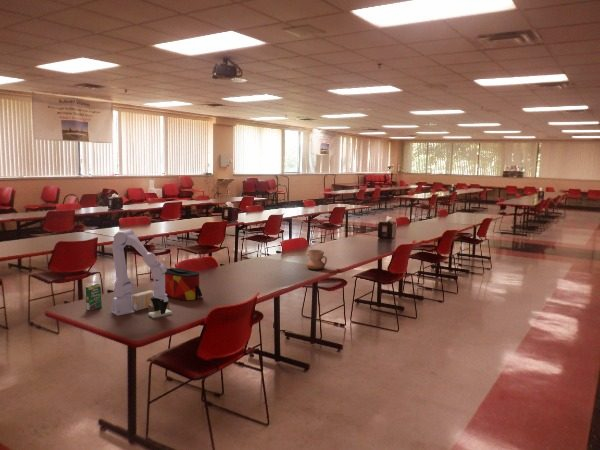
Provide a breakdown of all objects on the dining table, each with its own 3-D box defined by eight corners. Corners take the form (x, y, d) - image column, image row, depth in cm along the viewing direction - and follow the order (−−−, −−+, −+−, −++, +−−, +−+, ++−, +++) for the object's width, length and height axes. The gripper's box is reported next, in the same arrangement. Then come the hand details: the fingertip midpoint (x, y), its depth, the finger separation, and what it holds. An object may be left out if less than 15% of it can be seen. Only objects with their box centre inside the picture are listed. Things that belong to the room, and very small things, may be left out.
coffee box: (89, 311, 253) (88, 287, 251) (85, 310, 254) (84, 286, 252) (102, 307, 260) (101, 284, 258) (98, 306, 261) (97, 283, 259)
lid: (153, 317, 243) (153, 315, 243) (148, 315, 247) (148, 312, 247) (171, 313, 250) (171, 311, 250) (167, 311, 254) (167, 308, 254)
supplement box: (151, 289, 267) (131, 294, 257) (156, 291, 265) (136, 295, 254) (151, 303, 268) (131, 309, 258) (156, 305, 266) (136, 310, 255)
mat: (154, 318, 243) (154, 318, 243) (147, 315, 248) (147, 314, 248) (171, 314, 250) (171, 314, 250) (165, 311, 255) (165, 310, 255)
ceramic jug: (301, 269, 365) (301, 250, 363) (310, 265, 377) (311, 248, 375) (321, 272, 356) (322, 254, 353) (330, 269, 368) (331, 251, 366)
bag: (154, 294, 287) (154, 268, 285) (172, 289, 299) (171, 264, 297) (190, 303, 271) (190, 275, 269) (207, 297, 283) (207, 270, 281)
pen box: (152, 313, 251) (152, 306, 250) (148, 311, 254) (148, 304, 253) (169, 309, 258) (169, 302, 257) (165, 308, 261) (165, 301, 260)
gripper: (173, 288, 244) (173, 313, 246) (160, 283, 255) (160, 307, 256) (160, 290, 239) (161, 316, 241) (147, 285, 250) (148, 310, 252)
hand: (159, 312), depth 248 cm, fingers open, 6 cm apart
